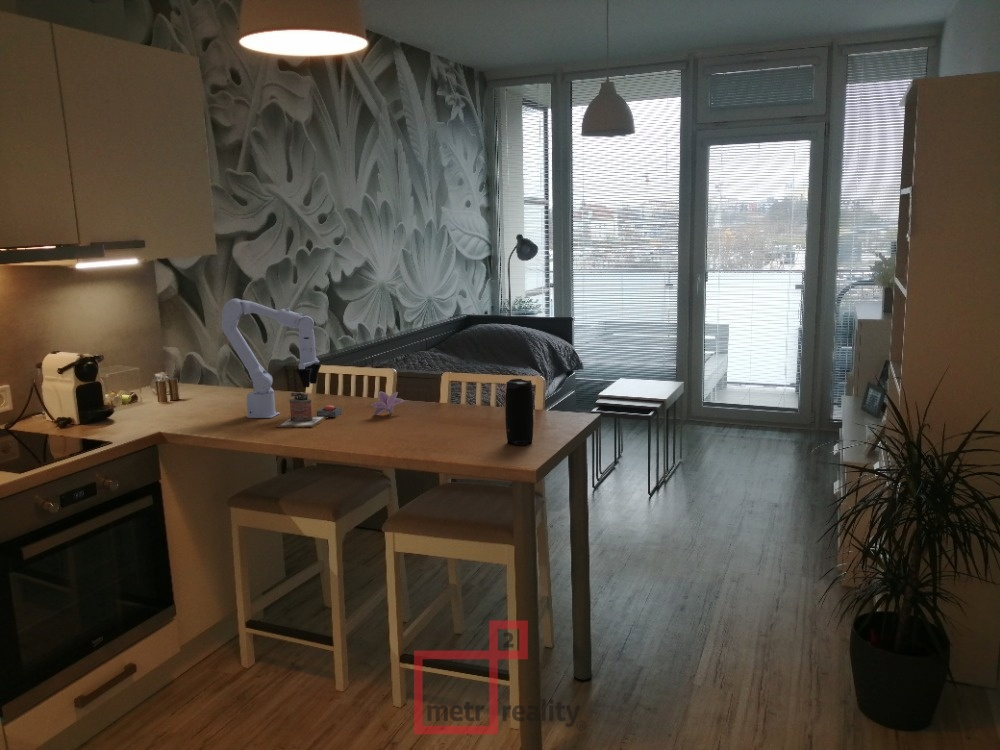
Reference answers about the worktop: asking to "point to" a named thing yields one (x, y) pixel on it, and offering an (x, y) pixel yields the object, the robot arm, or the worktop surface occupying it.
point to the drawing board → (302, 422)
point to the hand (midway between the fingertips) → (309, 385)
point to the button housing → (330, 412)
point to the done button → (329, 407)
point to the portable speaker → (519, 411)
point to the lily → (386, 402)
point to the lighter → (300, 407)
